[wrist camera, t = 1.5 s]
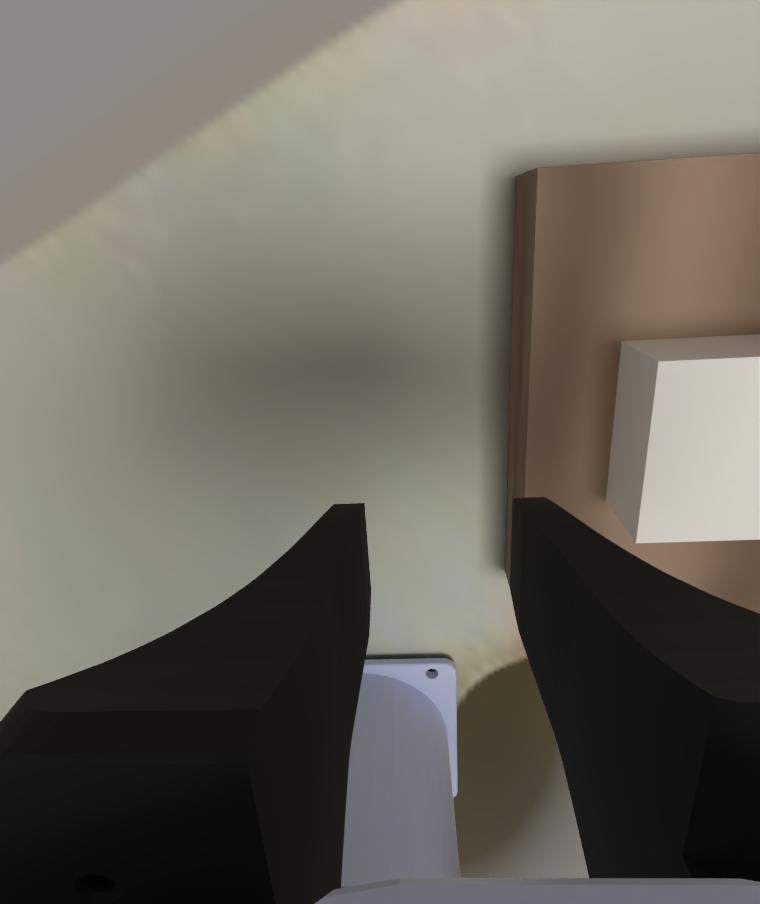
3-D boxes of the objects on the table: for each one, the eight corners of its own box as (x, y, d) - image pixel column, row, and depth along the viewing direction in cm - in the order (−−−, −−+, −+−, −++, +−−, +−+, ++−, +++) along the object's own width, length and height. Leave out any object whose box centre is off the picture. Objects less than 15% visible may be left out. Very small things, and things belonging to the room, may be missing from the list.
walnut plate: (505, 571, 22) (519, 621, 20) (516, 176, 17) (537, 167, 14) (879, 560, 22) (949, 611, 19) (1009, 143, 16) (1133, 127, 14)
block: (605, 501, 18) (636, 543, 15) (621, 340, 16) (658, 361, 14) (772, 495, 18) (828, 537, 15) (808, 331, 16) (878, 351, 13)
